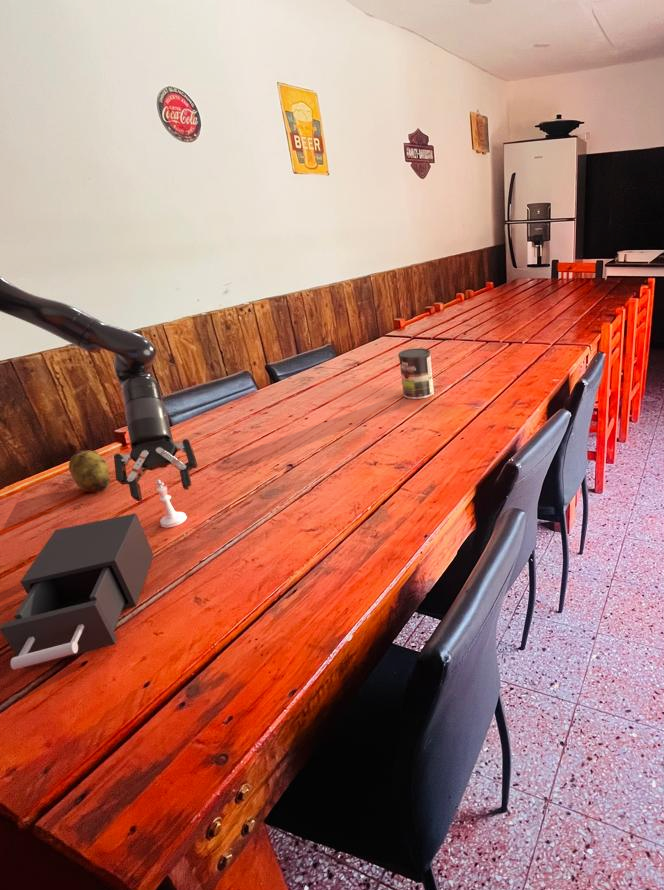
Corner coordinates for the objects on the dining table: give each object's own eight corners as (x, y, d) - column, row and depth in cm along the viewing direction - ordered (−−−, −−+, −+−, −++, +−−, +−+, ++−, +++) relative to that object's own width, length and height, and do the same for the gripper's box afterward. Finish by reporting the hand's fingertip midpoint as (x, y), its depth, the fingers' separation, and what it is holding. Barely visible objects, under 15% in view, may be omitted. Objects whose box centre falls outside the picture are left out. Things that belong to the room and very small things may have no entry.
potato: (70, 502, 117) (56, 472, 113) (79, 479, 127) (66, 450, 124) (113, 492, 120) (100, 462, 117) (118, 470, 131) (106, 442, 127)
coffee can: (420, 401, 163) (415, 358, 157) (397, 396, 169) (391, 354, 163) (440, 391, 171) (436, 350, 165) (417, 386, 176) (412, 346, 170)
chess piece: (172, 513, 110) (157, 473, 106) (192, 515, 109) (177, 474, 105) (155, 526, 106) (138, 485, 102) (175, 528, 105) (159, 486, 101)
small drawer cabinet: (136, 605, 85) (115, 560, 81) (47, 628, 81) (19, 581, 77) (153, 555, 97) (136, 513, 93) (77, 572, 94) (55, 529, 89)
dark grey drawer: (105, 671, 72) (83, 630, 68) (8, 698, 69) (-20, 657, 65) (135, 587, 88) (119, 551, 84) (58, 606, 85) (37, 569, 81)
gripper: (189, 423, 114) (204, 490, 110) (115, 438, 109) (128, 509, 105) (181, 409, 108) (197, 479, 103) (102, 424, 102) (115, 499, 98)
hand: (162, 494), depth 104 cm, fingers open, 8 cm apart
